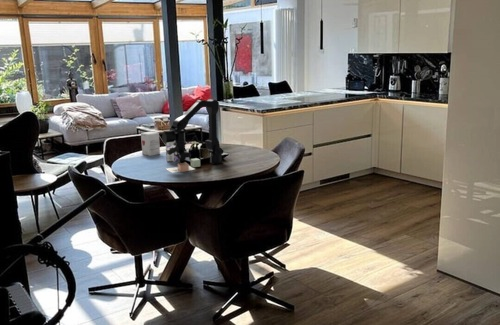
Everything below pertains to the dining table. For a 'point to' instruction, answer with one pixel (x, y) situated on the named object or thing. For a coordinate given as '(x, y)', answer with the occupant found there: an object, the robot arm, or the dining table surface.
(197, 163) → the green cube
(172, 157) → the candy box
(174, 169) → the letter
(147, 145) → the supplement box
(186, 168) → the terracotta block
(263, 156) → the dining table surface
